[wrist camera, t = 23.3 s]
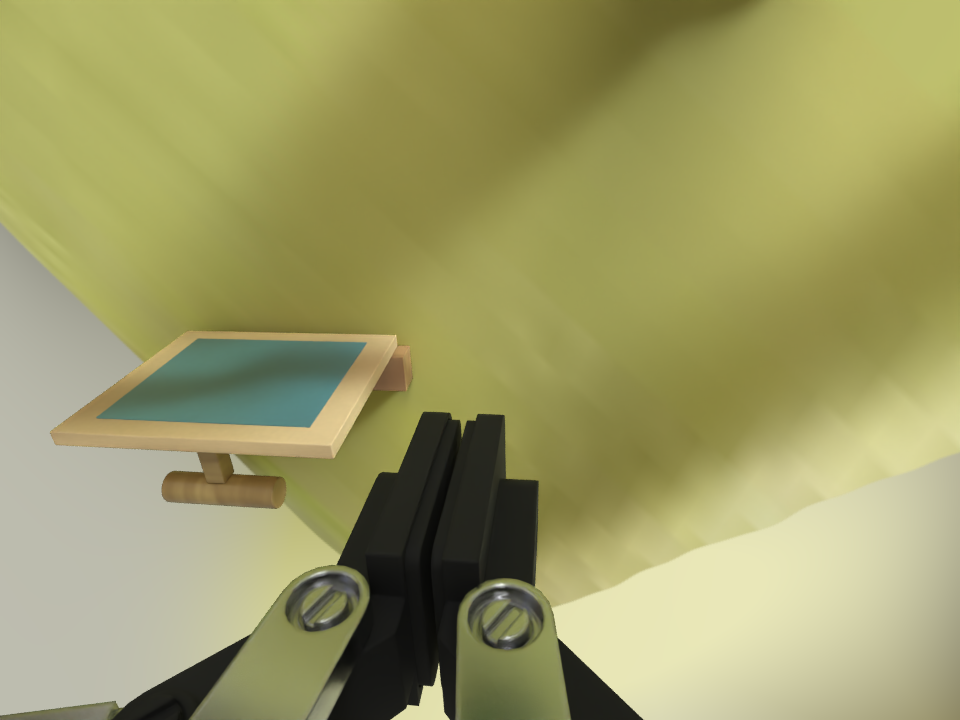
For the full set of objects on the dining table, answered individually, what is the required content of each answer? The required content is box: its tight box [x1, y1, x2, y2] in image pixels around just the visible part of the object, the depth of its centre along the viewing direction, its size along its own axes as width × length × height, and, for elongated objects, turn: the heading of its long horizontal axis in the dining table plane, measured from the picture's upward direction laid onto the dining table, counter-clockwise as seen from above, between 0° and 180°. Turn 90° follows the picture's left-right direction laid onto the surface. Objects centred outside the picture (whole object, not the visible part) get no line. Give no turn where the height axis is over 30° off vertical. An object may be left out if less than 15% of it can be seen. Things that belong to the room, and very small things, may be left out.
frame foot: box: [373, 345, 413, 391], centre depth 37 cm, size 2×15×2 cm, turn 92°
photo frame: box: [50, 331, 397, 509], centre depth 32 cm, size 12×14×5 cm
